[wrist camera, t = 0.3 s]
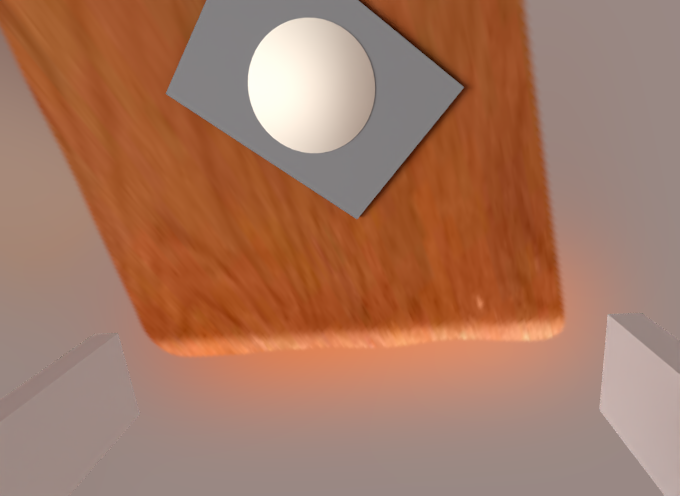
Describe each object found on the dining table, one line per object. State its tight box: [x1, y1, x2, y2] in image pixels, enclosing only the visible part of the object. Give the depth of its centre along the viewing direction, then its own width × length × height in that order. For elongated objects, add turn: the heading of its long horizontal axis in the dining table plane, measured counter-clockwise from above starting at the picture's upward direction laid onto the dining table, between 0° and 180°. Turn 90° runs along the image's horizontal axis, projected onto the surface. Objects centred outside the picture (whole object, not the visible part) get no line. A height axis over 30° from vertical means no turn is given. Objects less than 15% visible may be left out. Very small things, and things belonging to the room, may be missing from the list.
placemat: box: [166, 0, 464, 219], centre depth 32 cm, size 14×19×1 cm
